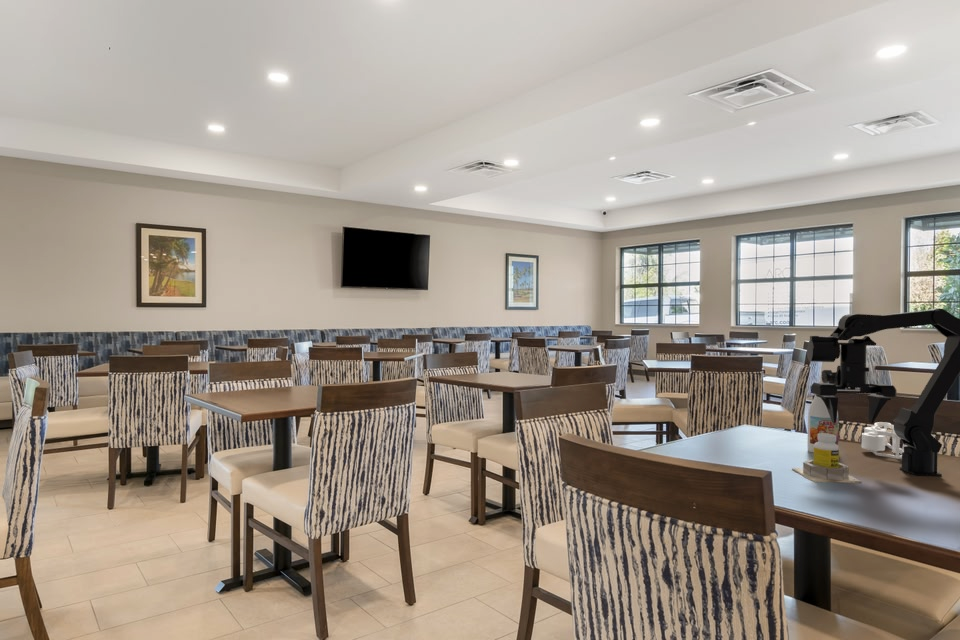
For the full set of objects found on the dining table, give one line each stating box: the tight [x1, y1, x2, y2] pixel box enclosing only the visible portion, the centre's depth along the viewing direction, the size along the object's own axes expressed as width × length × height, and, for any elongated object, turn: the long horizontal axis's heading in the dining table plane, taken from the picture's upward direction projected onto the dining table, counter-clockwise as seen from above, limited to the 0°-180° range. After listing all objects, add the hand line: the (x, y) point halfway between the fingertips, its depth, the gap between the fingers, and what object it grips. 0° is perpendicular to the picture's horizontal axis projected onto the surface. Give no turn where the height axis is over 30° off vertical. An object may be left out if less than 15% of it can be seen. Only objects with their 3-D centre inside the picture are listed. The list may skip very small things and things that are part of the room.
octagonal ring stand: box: [791, 459, 863, 484], centre depth 147 cm, size 11×11×3 cm
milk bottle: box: [807, 394, 839, 454], centre depth 175 cm, size 8×8×20 cm
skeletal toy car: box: [861, 421, 907, 460], centre depth 177 cm, size 20×11×7 cm, turn 144°
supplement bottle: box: [812, 433, 840, 468], centre depth 147 cm, size 5×5×10 cm
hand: (852, 423), depth 156 cm, fingers open, 9 cm apart
